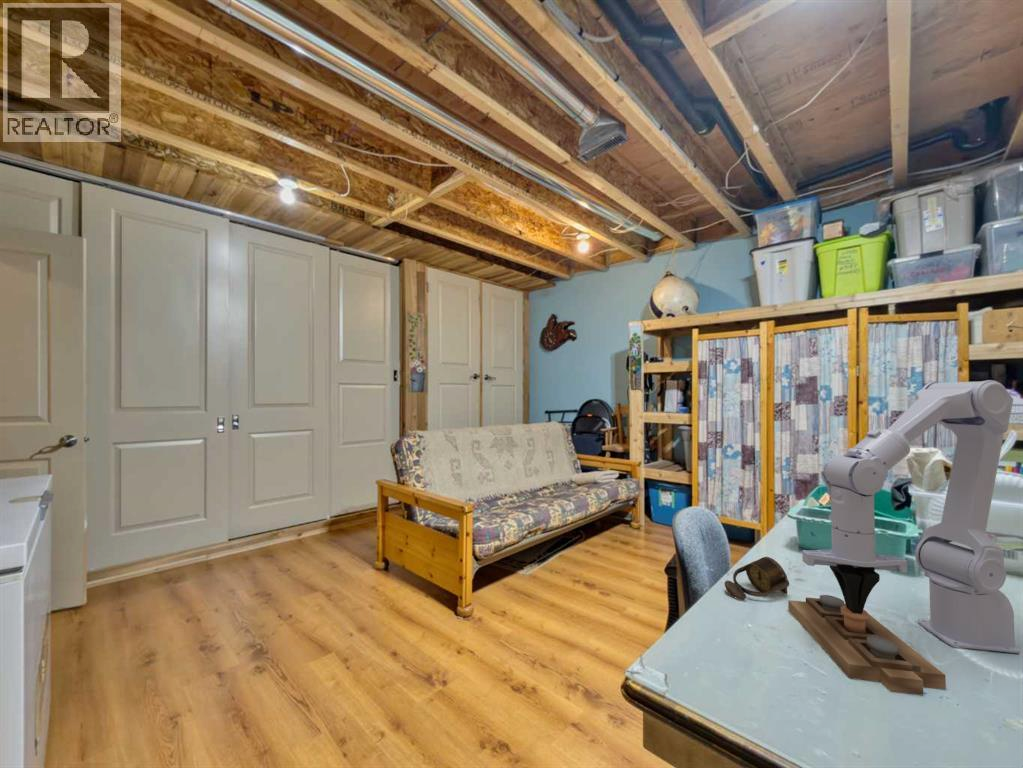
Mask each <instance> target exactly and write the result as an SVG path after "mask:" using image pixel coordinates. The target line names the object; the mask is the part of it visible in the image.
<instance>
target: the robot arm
mask: <svg viewBox="0 0 1023 768" xmlns="http://www.w3.org/2000/svg"><path fill="white" fill-rule="evenodd" d="M1013 403H1014V398H1013V397H1012V396H1011V394H1010V392H1008V390H1007V388H1006V387H1005V386H1004V384H1002V383H1000V382H999V381H997V380H992V379H986V380H981V381H953V382H951V381H950V382H948V381H947V382H941V381H940V382H938V381H931V382H928V383H925V385H924V386H923V387H922V388H921V389H920V390H918V391H916V393H915V401H914V402H913V403H912V404H911V406H909V407H908V409H906V410H905V411H904V412H903V413H902V414H901V415H900V416H899V417H898V418H897V419H896V420H895V421H894V422H893V423H892V424H891V425H890V426H889V427H888V428H875V429H871V430H869V431H868V432H866V436H865V437H863V439H861V440H860V441H859V442H858V443H857V444H855V445H854V446H853V447H850V448H849V449H848V450H847V451H846V453H844V455H835V456H833V457H831V458H829V460H827V461H826V462H825V464H824V466H823V469H822V470H820V475H821V479H822V481H823V483H824V484H825V485H826V487H827V495H828V496H829V498H830V525H831V527H830V528H831V533H830V535H831V549H818V550H817V549H815V550H813V549H812V550H810V549H809V550H807V549H806V550H805V549H803V550H802V552H801V553H802V557H801V558H802V562H803V563H805V564H806V565H807V566H809V567H810V566H811V567H814V566H815V565H816V566H829V568H830V570H831V572H832V573H833V576H834V577H835V578H836V581H837V583H838V585H839V587H840V590H841V594H842V595H843V596H842V597H843V601H844V603H845V604H846V608H847V609H849V610H850V611H851V612H852V613H856V614H862V613H863V610H865V606H866V603H867V600H868V597H869V595H870V593H871V592H872V591H873V589H874V587H875V586H876V585H877V584H878V583H879V582H880V576H881V575H880V574H879V573H878V572H876V570H885V571H897V572H899V573H903V574H904V573H906V574H907V573H908V561H907V560H906V559H904V558H902V557H900V556H895V555H887V554H879V553H876V531H875V527H876V526H875V524H876V523H875V521H876V520H875V494H876V493H879V492H881V490H882V489H883V487H884V485H885V480H886V477H887V476H888V474H889V472H890V470H891V469H893V468H894V467H895V466H896V465H897V464H898V463H900V462H901V461H902V460H903V459H904V458H906V457H907V456H908V455H909V454H910V453H911V452H910V451H911V447H910V443H911V442H912V441H914V440H915V439H917V438H918V437H920V436H921V435H923V434H924V433H925V432H927V431H928V430H929V429H932V428H933V427H934V426H935V425H937V424H938V423H939V425H941V426H943V427H944V428H945V429H948V430H950V431H951V432H952V433H953V435H955V437H956V443H955V449H954V455H953V459H952V463H951V470H950V474H949V480H948V485H947V490H946V495H945V501H944V505H943V512H942V516H941V521H940V522H939V523H937V524H934V525H931V526H929V527H927V528H925V529H924V531H923V534H922V537H921V539H920V541H919V542H918V543H917V544H916V547H915V551H914V557H915V561H916V564H917V565H918V566H919V568H920V569H922V570H923V571H924V577H926V578H928V583H929V585H928V586H929V612H930V613H929V620H928V619H916V623H917V624H919V625H920V626H921V627H923V628H924V629H926V630H928V631H929V632H930V633H932V634H933V635H935V636H936V637H938V638H939V639H940V640H942V641H943V642H945V643H946V644H947V645H949V646H952V647H953V648H962V649H964V648H965V649H972V650H973V649H974V650H984V651H993V652H994V651H995V652H1005V653H1015V654H1019V653H1020V651H1021V650H1020V649H1018V648H1017V647H1016V646H1015V644H1016V643H1015V640H1016V639H1015V615H1014V612H1015V611H1014V609H1013V606H1012V605H1013V604H1012V603H1011V601H1010V599H1009V598H1008V597H1007V595H1006V594H1005V593H1004V592H1002V591H1001V590H1000V589H1001V588H1002V587H1003V586H1004V585H1005V582H1006V579H1007V570H1006V568H1005V561H1004V558H1005V550H1004V549H1003V548H1002V547H1001V546H999V544H997V543H996V542H995V541H994V540H993V539H992V538H990V536H988V535H987V527H988V522H989V521H988V520H989V515H990V510H991V505H992V500H993V494H994V489H995V484H996V480H997V474H998V473H997V472H998V467H999V464H1000V456H1001V451H1002V446H1003V441H1004V435H1005V433H1007V432H1008V430H1009V426H1010V425H1009V424H1010V418H1011V414H1012V409H1013ZM953 542H954V543H957V544H954V543H953ZM958 544H961V545H964V546H961V545H958ZM965 546H967V547H965ZM968 547H969V548H968ZM970 548H971V549H970Z"/></svg>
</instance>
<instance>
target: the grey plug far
mask: <svg viewBox="0 0 1023 768" xmlns="http://www.w3.org/2000/svg"><path fill="white" fill-rule="evenodd" d="M819 599H820V603H821V604H822V608H823V609H824V610H825V611H832V612H841V606H843V605H844V603H845V600H844V599H842V598H839V597H837V596H833V595H829V594H821V595H819Z"/></svg>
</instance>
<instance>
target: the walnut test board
mask: <svg viewBox="0 0 1023 768" xmlns="http://www.w3.org/2000/svg"><path fill="white" fill-rule="evenodd" d="M787 601H788V605H787V606H788V612H789V613H790V614H791V615H792V617H793V618H795V620H796V621H797V622H798V623H799V624H800V625H801V627H803V629H804V630H805V631H806V632H807V633H808V634H809V635H810V636H811V637H812V639H813V641H815V642H816V643H817V644H818V645H819V647H821V648H822V649H823V650H824V652H825V654H827V656H829V658H830V659H832V661H833V662H834V663H835V664H836V665H837V667H838V668H840V670H841V671H842V672H843V673H844V674H845V675H846V676H847V678H848V679H853V680H854V679H855V680H863V681H873V682H880V683H881V684H883V686H885V688H886V689H888V691H889V692H894V693H903V694H910V695H911V694H912V695H918V696H919V695H920V696H924V688H932V689H940V690H947V684H946V683H947V682H946V679H947V678H946V677H947V675H946V673H943V671H941V670H940V669H939V668H937V667H936V666H935V665H934V664H932V662H930V661H929V660H927V659H926V658H925V657H924V656H922V655H921V654H920V653H919V652H918V651H916V650H915V649H914V648H913V647H911V646H910V645H908V644H907V643H906V642H905V641H903V640H902V639H901V638H900V637H898V636H897V635H896V634H894V633H893V632H892V631H891V630H890V629H888V628H887V627H886V626H885V625H883V624H882V623H881V622H879V620H878V619H876V618H874V617H873V616H872V615H871V614H869V613H868V620H867V621H865V627H866V634H863V633H853V632H847V631H846V630H845V629H844V615H842V614H841V612H832V611H825V610H824V609H823V608H822V604H821V603H820V597H819V598H818V597H817V598H816V597H805V601H803V600H802V601H801V600H791V599H790V600H787ZM844 605H846V604H845V602H844ZM869 636H876V637H881V638H884V639H887V640H890V641H892V642H893V643H895V644H896V645H897V646H898V655H895V660H891V659H882V658H875V657H874V656H873V655H872V654H871V653H870V648H869V647H868V646H867V637H869Z"/></svg>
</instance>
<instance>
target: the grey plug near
mask: <svg viewBox="0 0 1023 768" xmlns="http://www.w3.org/2000/svg"><path fill="white" fill-rule="evenodd" d="M867 646H868V647H869V648H870V653H871V654H872V655H873V656H874V657H875V658H882V659H891V660H895V655H898V646H897V645H896V644H895V643H893V642H892V641H890V640H887V639H884V638H881V637H876V636H869V637H867Z"/></svg>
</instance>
